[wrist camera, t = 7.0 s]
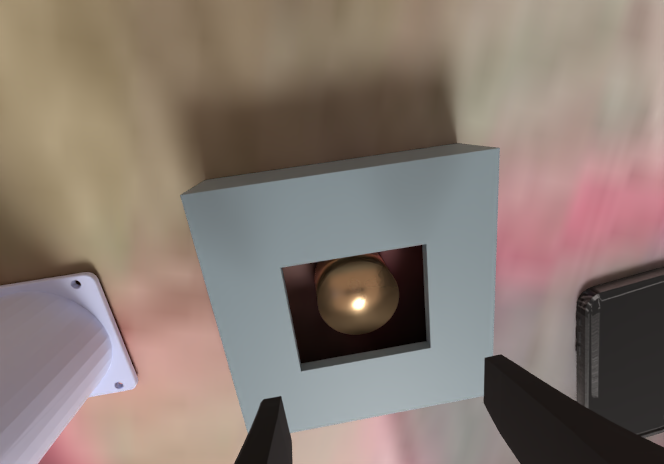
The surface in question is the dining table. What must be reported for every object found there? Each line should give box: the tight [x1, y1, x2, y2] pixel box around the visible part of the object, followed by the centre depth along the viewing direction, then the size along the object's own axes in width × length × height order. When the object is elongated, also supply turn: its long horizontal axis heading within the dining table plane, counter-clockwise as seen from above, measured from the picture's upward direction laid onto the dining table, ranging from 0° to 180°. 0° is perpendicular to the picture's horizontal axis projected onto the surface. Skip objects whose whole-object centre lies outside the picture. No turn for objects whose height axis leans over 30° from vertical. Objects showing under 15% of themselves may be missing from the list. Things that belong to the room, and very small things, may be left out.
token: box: [315, 252, 399, 335], centre depth 19 cm, size 4×4×3 cm
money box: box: [180, 143, 500, 433], centre depth 18 cm, size 14×14×4 cm
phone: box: [577, 267, 664, 438], centre depth 25 cm, size 8×1×15 cm
